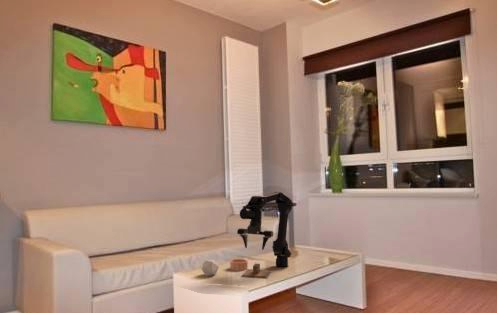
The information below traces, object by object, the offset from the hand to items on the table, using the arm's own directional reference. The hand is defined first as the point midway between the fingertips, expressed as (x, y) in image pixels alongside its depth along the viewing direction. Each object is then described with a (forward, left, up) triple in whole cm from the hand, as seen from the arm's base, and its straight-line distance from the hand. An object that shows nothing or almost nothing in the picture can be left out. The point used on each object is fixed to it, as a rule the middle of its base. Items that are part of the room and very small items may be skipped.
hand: (254, 249), depth 196 cm
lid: (-1, +1, -13) cm, 13 cm away
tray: (-1, +1, -14) cm, 14 cm away
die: (+23, +6, -14) cm, 27 cm away
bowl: (+11, -9, -14) cm, 20 cm away
